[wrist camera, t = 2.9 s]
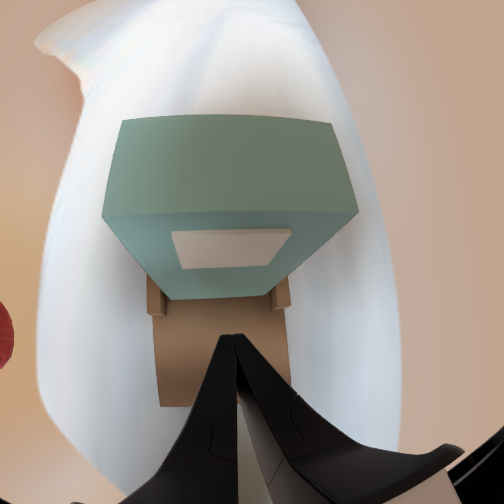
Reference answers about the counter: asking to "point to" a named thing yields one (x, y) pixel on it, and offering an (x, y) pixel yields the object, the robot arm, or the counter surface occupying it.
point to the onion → (5, 336)
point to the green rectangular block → (225, 199)
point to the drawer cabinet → (212, 336)
